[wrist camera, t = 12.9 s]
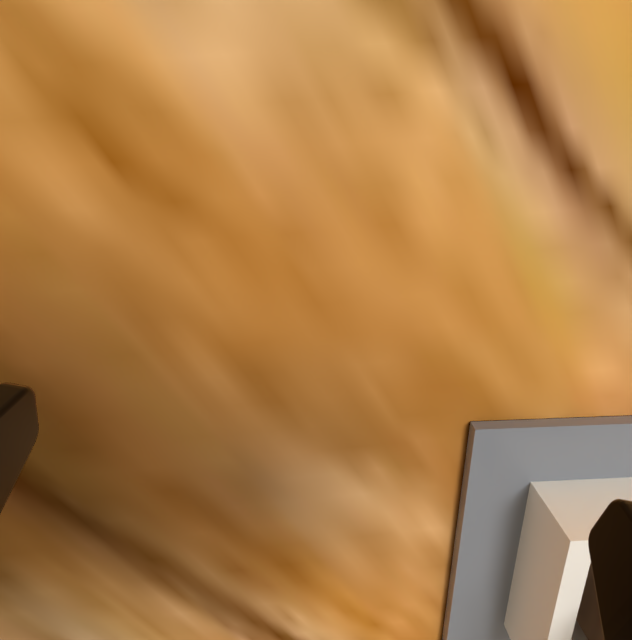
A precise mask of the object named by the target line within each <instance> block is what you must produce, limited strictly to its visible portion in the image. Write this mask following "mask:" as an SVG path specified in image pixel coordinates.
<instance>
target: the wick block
mask: <svg viewBox="0 0 632 640" xmlns="http://www.w3.org/2000/svg"><path fill="white" fill-rule="evenodd" d="M576 620H577V622H578V624H579V625H580V627H581V629H582V631H583V632H584V634H585V636H586V637H587V639H588V640H604V636H603V631H602V626H601V620H600V614H599V608H598V602H597V596H596V590H595V584H594V578H593V572H592V566H591V563H590V567H589V571H588V575H587V579H586V583H585V587H584V591H583V594H582V598H581V602H580V606H579V610H578V614H577V618H576Z"/></svg>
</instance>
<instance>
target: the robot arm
mask: <svg viewBox="0 0 632 640" xmlns="http://www.w3.org/2000/svg"><path fill="white" fill-rule="evenodd" d="M38 430H39V424H38V416H37V408H36V400H35V394H34V391H33V390H32V388H30V387H28V386H23V385H18V384H12V383H1V384H0V513H1V511H2V509H3V507H4V505H5V503H6V501H7V499H8V497H9V495H10V493H11V491H12V489H13V487H14V485H15V483H16V481H17V479H18V476H19V474H20V472H21V470H22V468H23V466H24V464H25V462H26V460H27V458H28V456H29V454H30V452H31V450H32V448H33V446H34V444H35V442H36V439H37V436H38ZM588 547H589V553H590V560H591V566H592V572H593V578H594V584H595V590H596V596H597V602H598V608H599V614H600V620H601V626H602V631H603V636H604V640H632V501H629V500H623V499H615V500H613V501H612V502H611V503H610V504H609V505H608V506H607V508H606V509H605V511H604V512H603V513H602V515H601V516H600V518H599V519H598V520H597V522H596V523H595V525H594V526H593V527H592V529H591V531H590V534H589V538H588Z"/></svg>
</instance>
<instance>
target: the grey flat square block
mask: <svg viewBox="0 0 632 640" xmlns="http://www.w3.org/2000/svg"><path fill="white" fill-rule="evenodd" d="M615 499H623V500H629V501H632V416H607V417H580V418H554V419H527V420H500V421H474V422H470V428H469V436H468V443H467V451H466V459H465V466H464V474H463V482H462V489H461V497H460V505H459V512H458V520H457V528H456V535H455V543H454V551H453V558H452V566H451V574H450V581H449V589H448V597H447V604H446V612H445V620H444V627H443V635H442V640H588V639H587V637H586V636H585V634H584V632H583V631H582V629H581V627H580V625H579V624H578V622H577V620H576V618H577V614H578V610H579V606H580V602H581V598H582V594H583V591H584V587H585V583H586V579H587V575H588V571H589V567H590V563H591V560H590V553H589V547H588V538H589V534H590V531H591V529H592V527H593V526H594V525H595V523H596V522H597V520H598V519H599V518H600V516H601V515H602V513H603V512H604V511H605V509H606V508H607V506H608V505H609V504H610V503H611V502H612V501H613V500H615Z"/></svg>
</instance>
